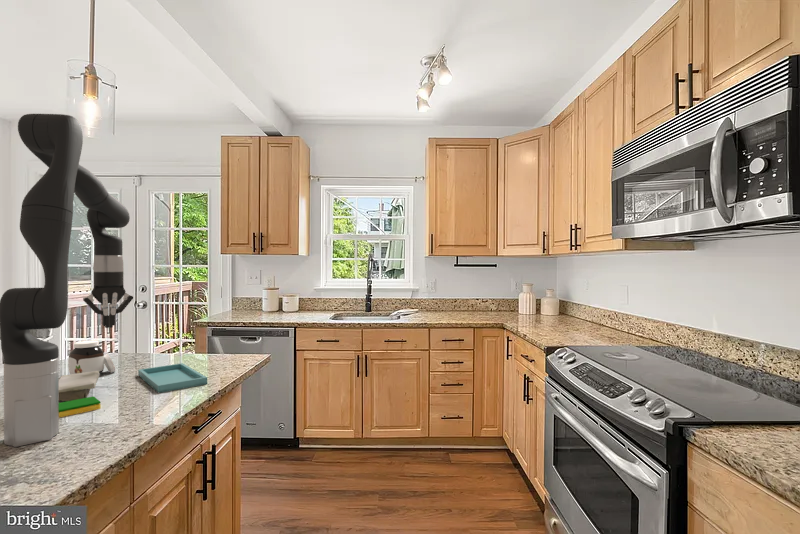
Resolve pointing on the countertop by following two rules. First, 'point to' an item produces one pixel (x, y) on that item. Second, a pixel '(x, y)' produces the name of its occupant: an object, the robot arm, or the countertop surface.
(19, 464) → the countertop surface
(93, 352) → the spread jar
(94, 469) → the countertop surface
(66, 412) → the dish sponge
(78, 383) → the packaged product
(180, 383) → the tray
